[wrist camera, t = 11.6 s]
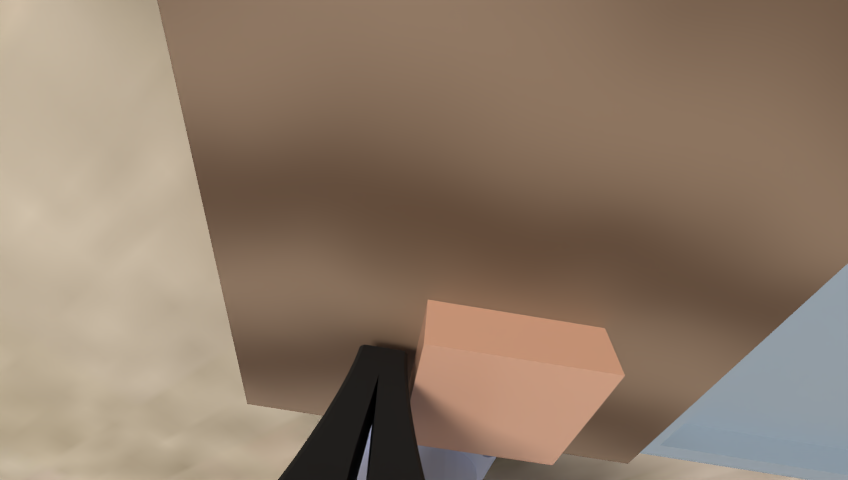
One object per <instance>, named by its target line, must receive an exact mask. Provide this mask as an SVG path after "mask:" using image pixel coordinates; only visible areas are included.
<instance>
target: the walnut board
mask: <svg viewBox="0 0 848 480" xmlns="http://www.w3.org/2000/svg"><path fill="white" fill-rule="evenodd" d="M157 1H158V5H159V10H160V14H161V19H162V23H163V28H164V32H165V37H166V41H167V46H168V50H169V55H170V59H171V64H172V68H173V73H174V77H175V82H176V86H177V90H178V95H179V99H180V104H181V108H182V113H183V117H184V122H185V126H186V131H187V135H188V140H189V144H190V149H191V153H192V158H193V162H194V167H195V171H196V176H197V180H198V185H199V189H200V193H201V198H202V202H203V207H204V211H205V216H206V220H207V225H208V229H209V234H210V238H211V243H212V247H213V252H214V256H215V261H216V265H217V270H218V274H219V279H220V283H221V288H222V292H223V297H224V301H225V305H226V310H227V314H228V319H229V323H230V328H231V332H232V337H233V341H234V346H235V350H236V355H237V359H238V364H239V368H240V373H241V377H242V382H243V386H244V391H245V395H246V400H247V404H252V405H258V406H264V407H271V408H277V409H284V410H290V411H296V412H303V413H309V414H315V415H322V416H323V415H324V414H325V412H326V411H327V409H328V407H329V406H330V404H331V402H332V401H333V399H334V397H335V396H336V394H337V392H338V391H339V389H340V387H341V385H342V383H343V382H344V380H345V378H346V376H347V374H348V372H349V370H350V368H351V366H352V364H353V362H354V360H355V357H356V355H357V353H358V350H359V347H360V346H362V345H364V344H365V345H371V346H377V347H384V348H390V349H396V350H402V351H405V352H406V353H407V354H408V385H409V381H410V377H411V372H412V368H413V363H414V359H415V354H416V350H417V345H418V341H419V336H420V332H421V327H422V323H423V319H424V314H425V310H426V305H427V301H428V300H434V301H440V302H446V303H452V304H459V305H465V306H471V307H477V308H483V309H490V310H496V311H502V312H508V313H514V314H520V315H527V316H533V317H539V318H545V319H551V320H558V321H564V322H570V323H576V324H582V325H588V326H595V327H601V328H605V329H606V332H607V334H608V336H609V339H610V341H611V343H612V346H613V348H614V351H615V353H616V355H617V358H618V360H619V362H620V365H621V367H622V369H623V372H624V374H625V376H624V378H623V379H622V380H621V381H620V383H619V384H618V385H617V386H616V388H615V389H614V390H613V391H612V392H611V394H610V395H609V396H608V397H607V399H606V400H605V401H604V402H603V404H602V405H601V406H600V407H599V409H598V410H597V411H596V412H595V413H594V415H593V416H592V417H591V418H590V420H589V421H588V422H587V423H586V425H585V426H584V427H583V428H582V429H581V431H580V432H579V433H578V434H577V436H576V437H575V438H574V439H573V441H572V442H571V443H570V444H569V445H568V447H567V448H566V449H565V450H564V452H563V453H564V454H570V455H576V456H583V457H589V458H595V459H602V460H608V461H615V462H621V463H627V464H628V463H629V462H630V461H631V460H632V459H633V458H634V457H636V456H637V455H638V454H639V453H640V452H641V451H642V450H643V449H644V448H645V447H647V446H648V445H649V444H650V443H651V442H652V441H653V440H654V439H655V438H656V437H658V436H659V435H660V434H661V433H662V432H663V431H664V430H665V429H666V428H667V427H669V426H670V425H671V424H672V423H673V422H674V421H675V420H676V419H677V418H678V417H680V416H681V415H682V414H683V413H684V412H685V411H686V410H687V409H688V408H689V407H691V406H692V405H693V404H694V403H695V402H696V401H697V400H698V399H699V398H700V397H702V396H703V395H704V394H705V393H706V392H707V391H708V390H709V389H710V388H711V387H713V386H714V385H715V384H716V383H717V382H718V381H719V380H720V379H721V378H722V377H724V376H725V375H726V374H727V373H728V372H729V371H730V370H731V369H732V368H733V367H735V366H736V365H737V364H738V363H739V362H740V361H741V360H742V359H743V358H744V357H745V356H747V355H748V354H749V353H750V352H751V351H752V350H753V349H754V348H755V347H756V346H758V345H759V344H760V343H761V342H762V341H763V340H764V339H765V338H766V337H767V336H769V335H770V334H771V333H772V332H773V331H774V330H775V329H776V328H777V327H778V326H780V325H781V324H782V323H783V322H784V321H785V320H786V319H787V318H788V317H789V316H791V315H792V314H793V313H794V312H795V311H796V310H797V309H798V308H799V307H800V306H802V305H803V304H804V303H805V302H806V301H807V300H808V299H809V298H810V297H811V296H813V295H814V294H815V293H816V292H817V291H818V290H819V289H820V288H821V287H822V286H824V285H825V284H826V283H827V282H828V281H829V280H830V279H831V278H832V277H833V276H835V275H836V274H837V273H838V272H839V271H840V270H841V269H842V268H843V267H844V266H846V265H847V264H848V0H157Z"/></svg>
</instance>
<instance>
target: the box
mask: <svg viewBox="0 0 848 480" xmlns="http://www.w3.org/2000/svg"><path fill="white" fill-rule="evenodd" d="M640 453H643V454H649V455H656V456H662V457H668V458H675V459H681V460H687V461H694V462H700V463H706V464H712V465H719V466H725V467H731V468H738V469H744V470H750V471H757V472H763V473H769V474H776V475H782V476H788V477H795V478H801V479H807V480H848V264H847V265H846V266H844V267H843V268H842V269H841V270H840V271H839V272H838V273H837V274H836V275H835V276H833V277H832V278H831V279H830V280H829V281H828V282H827V283H826V284H825V285H824V286H822V287H821V288H820V289H819V290H818V291H817V292H816V293H815V294H814V295H813V296H811V297H810V298H809V299H808V300H807V301H806V302H805V303H804V304H803V305H802V306H800V307H799V308H798V309H797V310H796V311H795V312H794V313H793V314H792V315H791V316H789V317H788V318H787V319H786V320H785V321H784V322H783V323H782V324H781V325H780V326H778V327H777V328H776V329H775V330H774V331H773V332H772V333H771V334H770V335H769V336H767V337H766V338H765V339H764V340H763V341H762V342H761V343H760V344H759V345H758V346H756V347H755V348H754V349H753V350H752V351H751V352H750V353H749V354H748V355H747V356H745V357H744V358H743V359H742V360H741V361H740V362H739V363H738V364H737V365H736V366H735V367H733V368H732V369H731V370H730V371H729V372H728V373H727V374H726V375H725V376H724V377H722V378H721V379H720V380H719V381H718V382H717V383H716V384H715V385H714V386H713V387H711V388H710V389H709V390H708V391H707V392H706V393H705V394H704V395H703V396H702V397H700V398H699V399H698V400H697V401H696V402H695V403H694V404H693V405H692V406H691V407H689V408H688V409H687V410H686V411H685V412H684V413H683V414H682V415H681V416H680V417H678V418H677V419H676V420H675V421H674V422H673V423H672V424H671V425H670V426H669V427H667V428H666V429H665V430H664V431H663V432H662V433H661V434H660V435H659V436H658V437H656V438H655V439H654V440H653V441H652V442H651V443H650V444H649V445H648V446H647V447H645V448H644V449H643V450H642V451H641V452H640Z"/></svg>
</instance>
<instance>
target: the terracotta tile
mask: <svg viewBox="0 0 848 480" xmlns="http://www.w3.org/2000/svg"><path fill="white" fill-rule="evenodd" d="M624 376H625V374H624V372H623V369H622V367H621V365H620V362H619V360H618V358H617V355H616V353H615V351H614V348H613V346H612V343H611V341H610V339H609V336H608V334H607V332H606V329H605V328H601V327H595V326H588V325H582V324H576V323H570V322H564V321H558V320H551V319H545V318H539V317H533V316H527V315H520V314H514V313H508V312H502V311H496V310H490V309H483V308H477V307H471V306H465V305H459V304H452V303H446V302H440V301H434V300H428V301H427V305H426V310H425V314H424V319H423V323H422V327H421V332H420V336H419V341H418V345H417V350H416V354H415V359H414V363H413V368H412V372H411V377H410V381H409V385H408V386H409V396H410V404H411V412H412V418H413V424H414V429H415V435H416V440H417V445H420V446H427V447H433V448H440V449H447V450H454V451H460V452H467V453H474V454H480V455H487V456H494V457H501V458H507V459H514V460H521V461H527V462H534V463H541V464H547V465H553V464H554V463H555V462H556V460H557V459H558V458H559V457H560V455H561V454H562V453H563V452H564V450H565V449H566V448H567V447H568V445H569V444H570V443H571V442H572V441H573V439H574V438H575V437H576V436H577V434H578V433H579V432H580V431H581V429H582V428H583V427H584V426H585V425H586V423H587V422H588V421H589V420H590V418H591V417H592V416H593V415H594V413H595V412H596V411H597V410H598V409H599V407H600V406H601V405H602V404H603V402H604V401H605V400H606V399H607V397H608V396H609V395H610V394H611V392H612V391H613V390H614V389H615V388H616V386H617V385H618V384H619V383H620V381H621V380H622V379H623V378H624Z"/></svg>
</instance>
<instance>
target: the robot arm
mask: <svg viewBox="0 0 848 480" xmlns="http://www.w3.org/2000/svg"><path fill="white" fill-rule="evenodd" d="M495 459H496V457H494V456H487V455H480V454H474V453H467V452H460V451H454V450H447V449H440V448H433V447H427V446H420V445H417V440H416V435H415V429H414V424H413V418H412V412H411V404H410V396H409V386H408V354H407V353H406V352H405V351H402V350H396V349H390V348H384V347H377V346H371V345H365V344H364V345H362V346H360V347H359V350H358V353H357V355H356V357H355V360H354V362H353V364H352V366H351V368H350V370H349V372H348V374H347V376H346V378H345V380H344V382H343V383H342V385H341V387H340V389H339V391H338V392H337V394H336V396H335V397H334V399H333V401H332V402H331V404H330V406H329V407H328V409H327V411H326V412H325V414H324V415H323V417H322V418H321V420H320V422H319V423H318V424H317V426H316V427H315V429H314V430H313V432H312V433H311V435H310V436H309V438H308V439H307V441H306V442H305V444H304V445H303V447H302V448H301V450H300V451H299V452H298V454H297V455H296V456H295V458H294V459H293V461H292V462H291V463H290V465H289V466H288V467H287V469H286V470H285V471H284V473H283V474H282V475H281V477H280V478H279V479H278V480H483V478H484V477H485V475H486V473H487V472H488V470H489V468H490V467H491V465H492V463H493V462H494V460H495Z"/></svg>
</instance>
